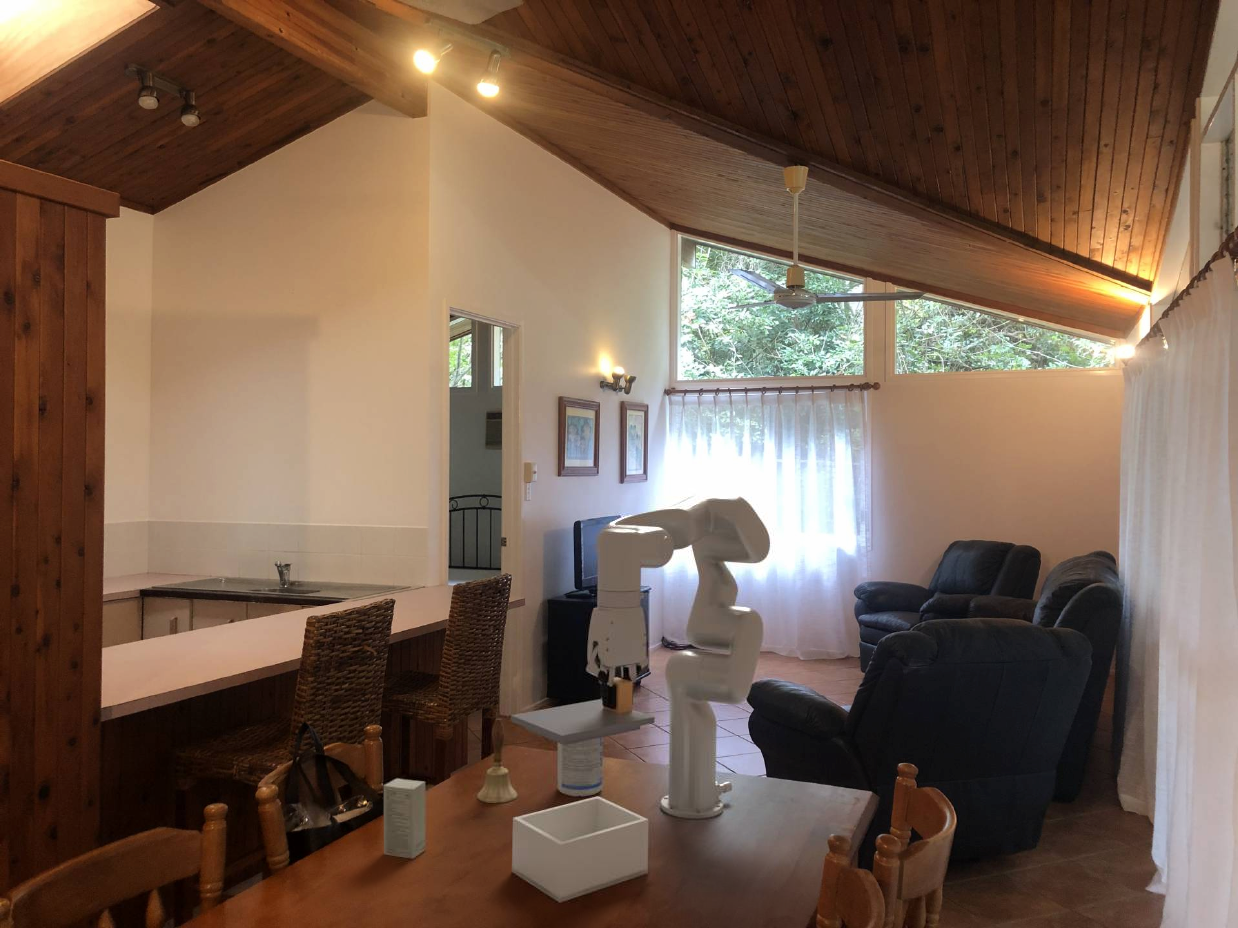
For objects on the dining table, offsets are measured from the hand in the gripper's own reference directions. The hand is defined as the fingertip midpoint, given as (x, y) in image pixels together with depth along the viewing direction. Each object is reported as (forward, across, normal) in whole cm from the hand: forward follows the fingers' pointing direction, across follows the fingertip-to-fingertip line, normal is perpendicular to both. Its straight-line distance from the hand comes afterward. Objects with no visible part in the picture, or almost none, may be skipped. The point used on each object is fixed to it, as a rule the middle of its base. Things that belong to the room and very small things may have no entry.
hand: (617, 704), depth 160 cm
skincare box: (+27, +28, -25) cm, 46 cm away
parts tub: (+27, +8, 0) cm, 28 cm away
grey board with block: (+3, +8, 0) cm, 8 cm away
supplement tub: (+27, -16, -33) cm, 46 cm away
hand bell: (+27, 0, -40) cm, 48 cm away
